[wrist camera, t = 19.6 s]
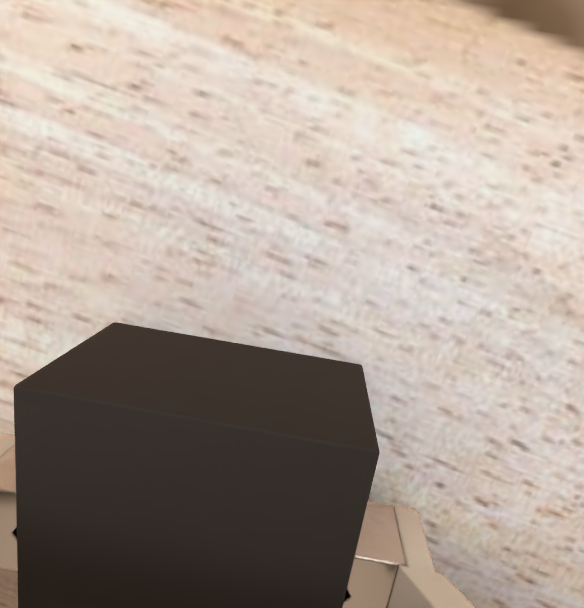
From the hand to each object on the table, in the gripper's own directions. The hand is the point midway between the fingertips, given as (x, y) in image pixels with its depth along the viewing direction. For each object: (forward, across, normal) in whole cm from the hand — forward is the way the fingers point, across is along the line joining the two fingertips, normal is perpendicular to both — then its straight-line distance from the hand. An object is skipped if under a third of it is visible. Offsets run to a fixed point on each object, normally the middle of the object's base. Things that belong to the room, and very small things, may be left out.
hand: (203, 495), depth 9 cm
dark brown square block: (+2, 0, 0) cm, 2 cm away
